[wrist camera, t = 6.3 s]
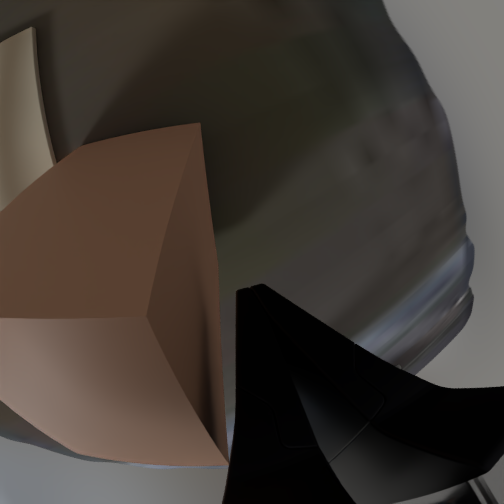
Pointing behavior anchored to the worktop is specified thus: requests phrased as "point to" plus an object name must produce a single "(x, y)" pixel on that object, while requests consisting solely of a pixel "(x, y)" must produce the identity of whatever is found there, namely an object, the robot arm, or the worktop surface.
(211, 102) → the worktop surface
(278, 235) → the worktop surface
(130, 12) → the worktop surface
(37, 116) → the birch board
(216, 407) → the terracotta block
